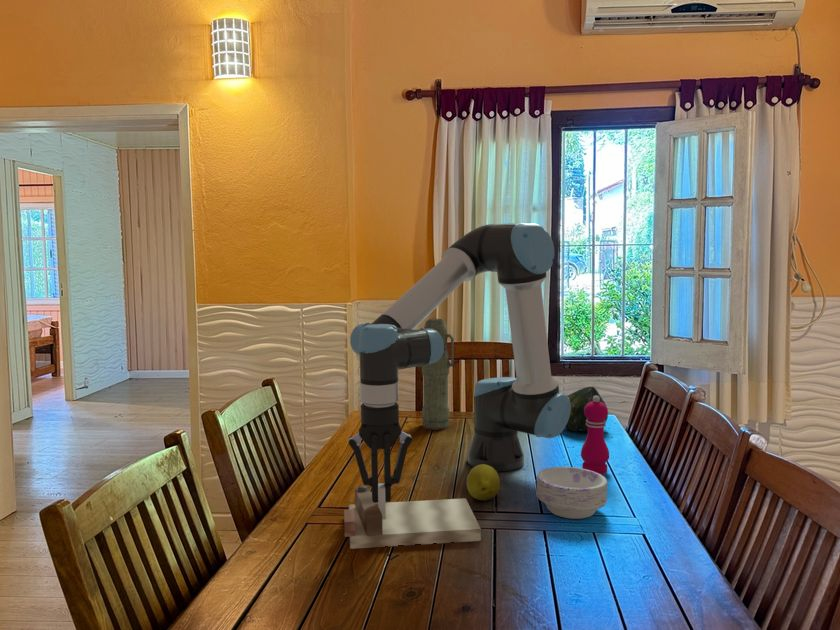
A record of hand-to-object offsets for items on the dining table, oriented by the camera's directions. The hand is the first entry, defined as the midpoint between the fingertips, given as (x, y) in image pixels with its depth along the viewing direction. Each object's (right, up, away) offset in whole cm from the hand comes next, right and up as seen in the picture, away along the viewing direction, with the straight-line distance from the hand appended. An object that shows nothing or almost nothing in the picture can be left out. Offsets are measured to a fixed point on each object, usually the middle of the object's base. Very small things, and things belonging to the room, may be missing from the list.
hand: (381, 516), depth 133 cm
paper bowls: (+41, -3, +13) cm, 43 cm away
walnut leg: (-3, -1, +2) cm, 4 cm away
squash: (+60, +4, +76) cm, 97 cm away
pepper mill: (+53, 0, +39) cm, 66 cm away
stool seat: (+6, -4, +5) cm, 9 cm away
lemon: (+22, -2, +20) cm, 30 cm away
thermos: (+13, +4, +82) cm, 83 cm away
